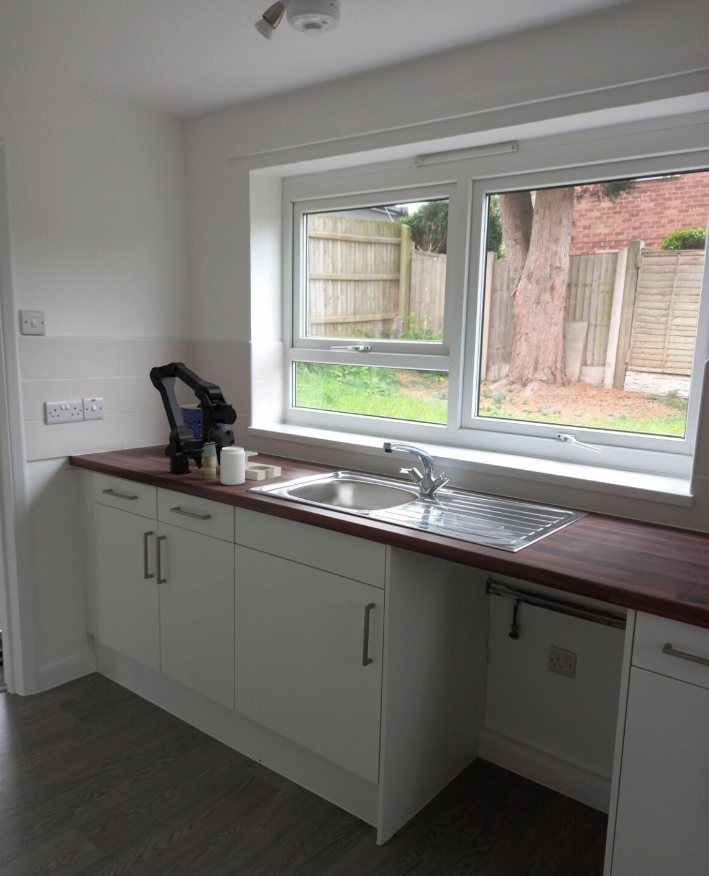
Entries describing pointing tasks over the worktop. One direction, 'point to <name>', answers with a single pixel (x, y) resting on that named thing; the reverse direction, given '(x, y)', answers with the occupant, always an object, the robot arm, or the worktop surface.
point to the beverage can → (232, 466)
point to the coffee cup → (209, 452)
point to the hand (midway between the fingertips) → (209, 466)
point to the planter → (193, 419)
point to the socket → (261, 471)
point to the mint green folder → (249, 454)
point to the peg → (210, 467)
